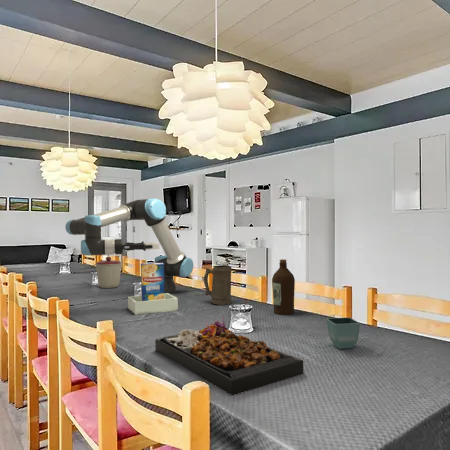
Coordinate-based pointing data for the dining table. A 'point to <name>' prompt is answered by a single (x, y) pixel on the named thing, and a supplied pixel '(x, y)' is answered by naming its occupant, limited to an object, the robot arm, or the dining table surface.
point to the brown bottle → (283, 290)
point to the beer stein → (219, 284)
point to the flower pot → (343, 332)
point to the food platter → (228, 358)
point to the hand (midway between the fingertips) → (158, 245)
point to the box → (152, 305)
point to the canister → (108, 273)
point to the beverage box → (152, 281)
